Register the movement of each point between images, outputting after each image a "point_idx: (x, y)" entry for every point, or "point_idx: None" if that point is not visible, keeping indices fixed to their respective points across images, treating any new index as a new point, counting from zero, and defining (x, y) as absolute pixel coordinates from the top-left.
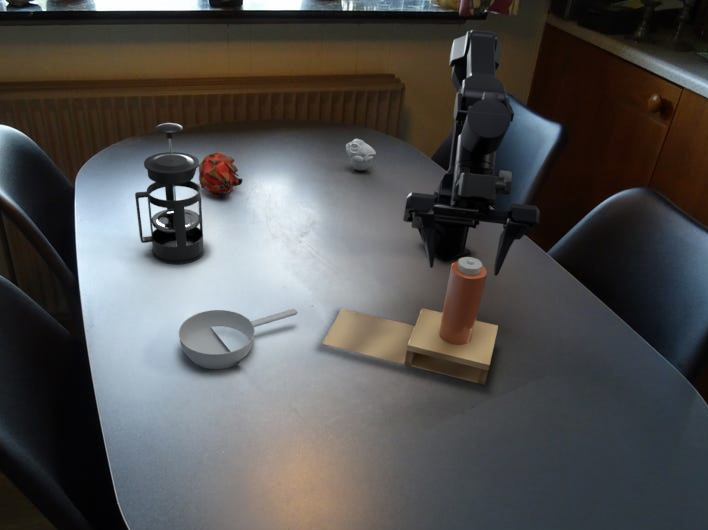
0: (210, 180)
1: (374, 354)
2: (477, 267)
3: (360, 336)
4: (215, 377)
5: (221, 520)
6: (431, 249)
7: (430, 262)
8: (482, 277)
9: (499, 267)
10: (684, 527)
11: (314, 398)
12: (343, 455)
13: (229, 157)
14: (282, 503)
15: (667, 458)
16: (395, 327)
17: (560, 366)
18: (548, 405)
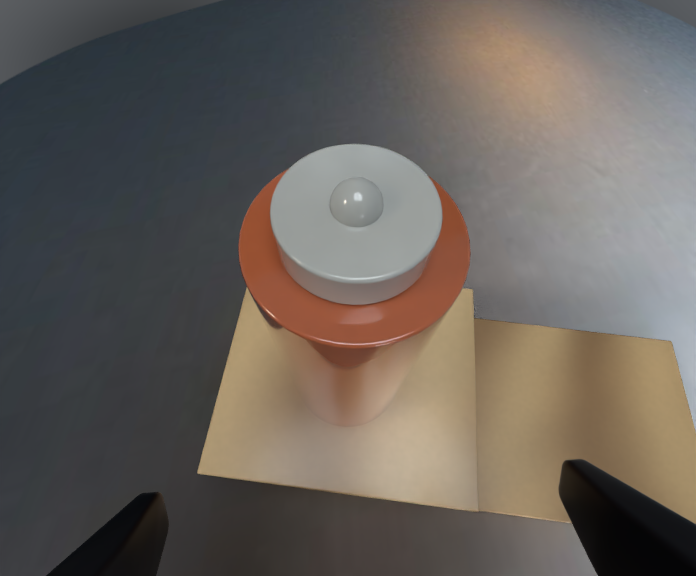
0: None
1: (534, 333)
2: (306, 163)
3: (599, 399)
4: None
5: (580, 24)
6: (681, 536)
7: (598, 468)
8: (272, 181)
9: (116, 521)
10: (11, 100)
11: (586, 202)
12: (488, 114)
13: None
14: (529, 48)
15: None
16: (523, 478)
17: (38, 447)
18: (128, 287)
